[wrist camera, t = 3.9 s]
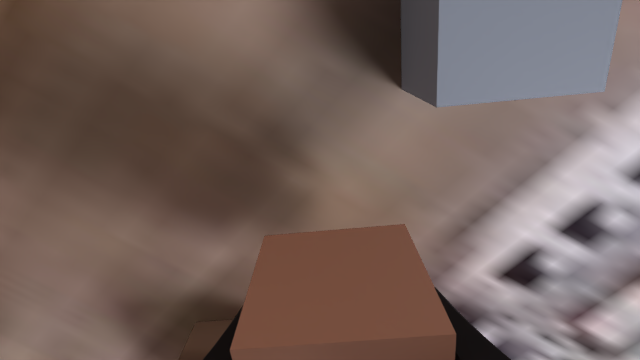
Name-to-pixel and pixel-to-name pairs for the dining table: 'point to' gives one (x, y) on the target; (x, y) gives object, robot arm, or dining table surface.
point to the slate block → (505, 48)
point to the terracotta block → (342, 300)
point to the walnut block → (203, 339)
